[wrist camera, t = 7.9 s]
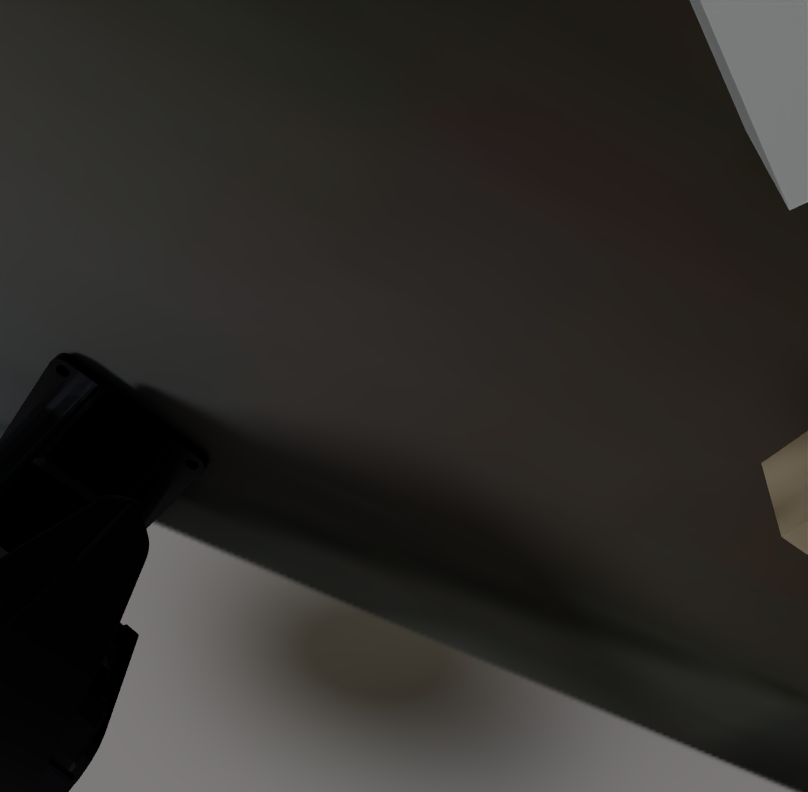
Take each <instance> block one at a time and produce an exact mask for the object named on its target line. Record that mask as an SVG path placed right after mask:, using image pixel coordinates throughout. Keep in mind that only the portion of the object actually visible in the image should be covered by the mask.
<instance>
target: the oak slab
mask: <svg viewBox="0 0 808 792" xmlns="http://www.w3.org/2000/svg"><path fill="white" fill-rule="evenodd" d="M761 464H762V467H763V471H764V475H765V478H766V482H767V486H768V489H769V493H770V496H771V500H772V504H773V507H774V511H775V515H776V518H777V522H778V526H779V529H780V533H781V537H783V538H784V539H785V540H787V541H788V542H790V543H791V544H793V545H794V546H796V547H797V548H799V549H800V550H802V551H803V552H804V553H806V554H807V555H808V431H807V432H805V433H804V434H803V435H801V436H800V437H798V438H797V439H795V440H794V441H793V442H791V443H790V444H788V445H787V446H785V447H784V448H782V449H781V450H780V451H778V452H777V453H775V454H774V455H772V456H771V457H769V458H768V459H767V460H765V461H764V462H762V463H761Z"/></svg>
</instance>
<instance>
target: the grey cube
mask: <svg viewBox="0 0 808 792" xmlns="http://www.w3.org/2000/svg"><path fill="white" fill-rule="evenodd" d="M690 2H691V4H692V7H693V9H694V11H695V14H696V16H697V18H698V21H699V23H700V25H701V28H702V30H703V32H704V35H705V37H706V39H707V42H708V44H709V46H710V48H711V51H712V53H713V55H714V58H715V60H716V62H717V65H718V67H719V69H720V72H721V74H722V76H723V79H724V81H725V83H726V86H727V88H728V90H729V93H730V95H731V97H732V99H733V102H734V104H735V106H736V109H737V111H738V113H739V116H740V118H741V120H742V123H743V125H744V127H745V130H746V132H747V134H748V136H749V137H750V139H751V141H752V143H753V145H754V146H755V148H756V150H757V152H758V154H759V156H760V157H761V159H762V161H763V163H764V165H765V167H766V168H767V170H768V172H769V174H770V176H771V178H772V179H773V181H774V183H775V185H776V187H777V189H778V190H779V192H780V194H781V196H782V198H783V200H784V201H785V203H786V205H787V207H788V209H789V210H791V209H794V208H796V207H798V206H800V205H802V204H805V203H807V202H808V0H690Z"/></svg>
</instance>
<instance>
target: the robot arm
mask: <svg viewBox="0 0 808 792" xmlns="http://www.w3.org/2000/svg"><path fill="white" fill-rule="evenodd" d="M65 367H66V368H67V369H68V370H67V369H66V368H65ZM193 460H194V461H193ZM195 461H196V462H195ZM208 463H209V458H208V456H207V454H206V453H205V452H204V451H203V450H201V449H200V448H198V447H197V446H196V445H194V444H193V443H192V442H190V441H189V440H188V439H186V438H185V437H183V436H182V435H181V434H179V433H178V432H177V431H175V430H174V429H172V428H171V427H170V426H168V425H167V424H166V423H164V422H163V421H162V420H160V419H159V418H157V417H156V416H155V415H153V414H152V413H151V412H149V411H148V410H146V409H145V408H144V407H142V406H141V405H140V404H138V403H137V402H136V401H134V400H133V399H131V398H130V397H129V396H127V395H126V394H125V393H123V392H122V391H120V390H119V389H118V388H116V387H115V386H114V385H112V384H111V383H110V382H108V381H107V380H105V379H104V378H103V377H101V376H100V375H99V374H97V373H96V372H94V371H93V370H92V369H90V368H89V367H88V366H86V365H85V364H84V363H82V362H81V361H79V360H78V359H77V358H75V357H74V356H72V355H70V354H67V353H60V354H59V355H57V356H56V357H55V358H54V359H53V360H52V361H51V362H50V363H49V365H48V366H47V368H46V369H45V371H44V372H43V374H42V375H41V377H40V379H39V380H38V382H37V383H36V385H35V386H34V388H33V389H32V391H31V392H30V394H29V396H28V397H27V399H26V400H25V402H24V403H23V405H22V406H21V408H20V409H19V411H18V412H17V414H16V416H15V417H14V419H13V420H12V422H11V423H10V425H9V426H8V428H7V429H6V431H5V433H4V434H3V436H2V437H1V439H0V792H69V790H70V789H71V788H72V786H73V785H74V784H75V783H76V782H77V781H78V779H79V778H80V777H81V775H82V774H83V772H84V771H85V770H86V768H87V767H88V765H89V764H90V762H91V761H92V759H93V757H94V755H95V753H96V752H97V750H98V748H99V746H100V744H101V742H102V739H103V737H104V734H105V732H106V729H107V726H108V723H109V720H110V717H111V715H112V712H113V708H114V706H115V703H116V700H117V697H118V694H119V691H120V688H121V685H122V683H123V680H124V677H125V674H126V671H127V668H128V665H129V662H130V660H131V657H132V654H133V651H134V647H135V645H136V642H137V639H138V636H139V635H138V634H137V633H136V632H135V631H134V630H132V628H130V627H129V626H128V625H122V624H121V623H120V621H121V618H122V616H123V613H124V611H125V609H126V606H127V604H128V601H129V599H130V597H131V594H132V592H133V589H134V587H135V585H136V582H137V580H138V577H139V575H140V573H141V570H142V568H143V565H144V563H145V560H146V558H147V554H148V550H149V538H148V534H147V530H146V529H147V528H148V526H150V525H151V524H152V523H153V522H154V521H155V520H156V519H157V518H158V517H159V516H160V515H161V514H162V513H163V512H164V511H165V510H166V509H167V508H168V507H169V506H170V505H171V504H172V503H173V502H174V501H175V500H176V499H177V498H178V497H179V496H180V495H181V494H182V493H183V492H184V491H185V490H186V489H187V488H188V487H189V486H190V485H191V484H192V483H193V482H194V481H195V480H196V479H197V478H198V477H199V476H200V475H201V474H202V473H203V471H204V470H205V468H206V467H207V465H208Z"/></svg>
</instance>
